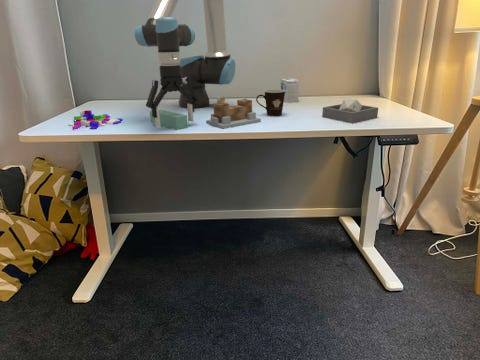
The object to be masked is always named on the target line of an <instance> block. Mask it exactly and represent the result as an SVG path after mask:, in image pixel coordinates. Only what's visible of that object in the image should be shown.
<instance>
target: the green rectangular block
mask: <svg viewBox="0 0 480 360" xmlns="http://www.w3.org/2000/svg"><path fill="white" fill-rule="evenodd" d="M158 109H159V116H160V127H164V128H168V129H171V130H174V131H175V130H176V131H178V130H184V129H188V128H189V127H188V114H187V115H186V114H182V113H179V112H174V111H169V110H165V109H162V108H158ZM149 119H150V124H154V125H155V118H154V117H153V116H152V110H149Z"/></svg>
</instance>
